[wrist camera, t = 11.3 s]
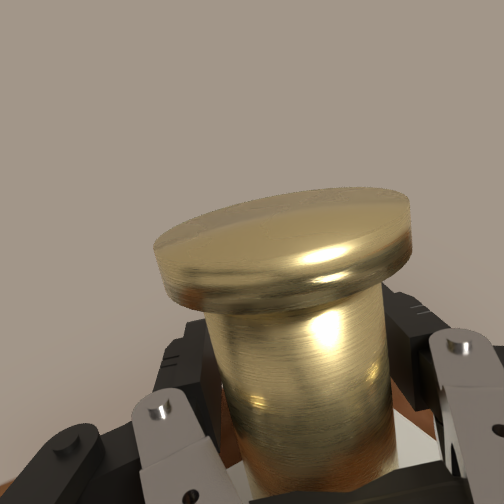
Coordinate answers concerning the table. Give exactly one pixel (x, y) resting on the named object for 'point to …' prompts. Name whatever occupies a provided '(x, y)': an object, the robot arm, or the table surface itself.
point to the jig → (408, 447)
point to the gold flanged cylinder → (299, 328)
